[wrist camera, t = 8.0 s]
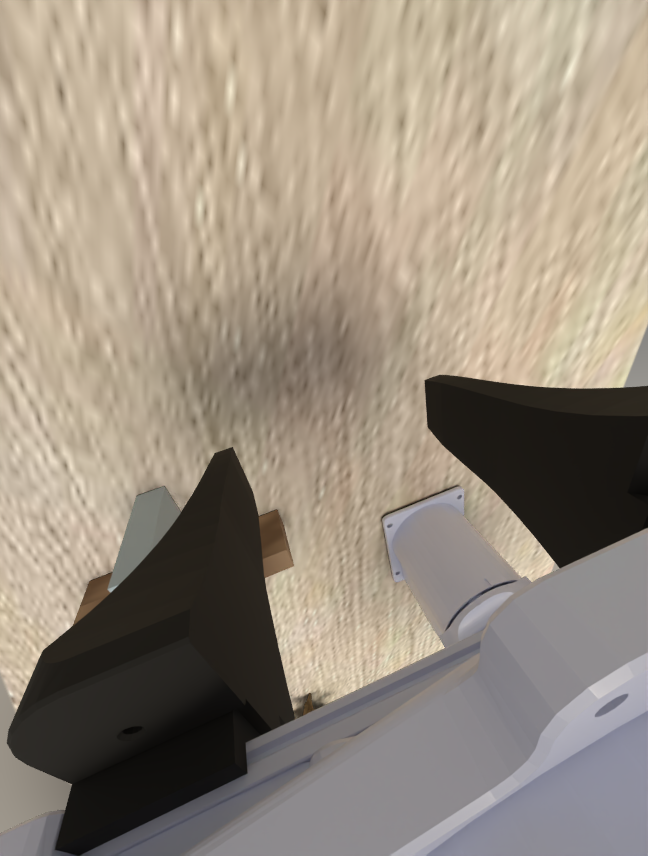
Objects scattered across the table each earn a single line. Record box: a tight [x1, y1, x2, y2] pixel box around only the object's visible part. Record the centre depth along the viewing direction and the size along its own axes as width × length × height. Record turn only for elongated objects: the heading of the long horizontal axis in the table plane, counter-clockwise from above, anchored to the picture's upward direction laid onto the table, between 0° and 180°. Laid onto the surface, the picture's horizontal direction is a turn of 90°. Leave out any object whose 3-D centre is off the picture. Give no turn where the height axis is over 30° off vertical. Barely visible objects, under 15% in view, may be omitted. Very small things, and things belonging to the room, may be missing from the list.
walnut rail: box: [73, 510, 294, 625], centre depth 23 cm, size 14×2×4 cm, turn 103°
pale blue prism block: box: [107, 486, 181, 593], centre depth 22 cm, size 12×2×7 cm, turn 13°
